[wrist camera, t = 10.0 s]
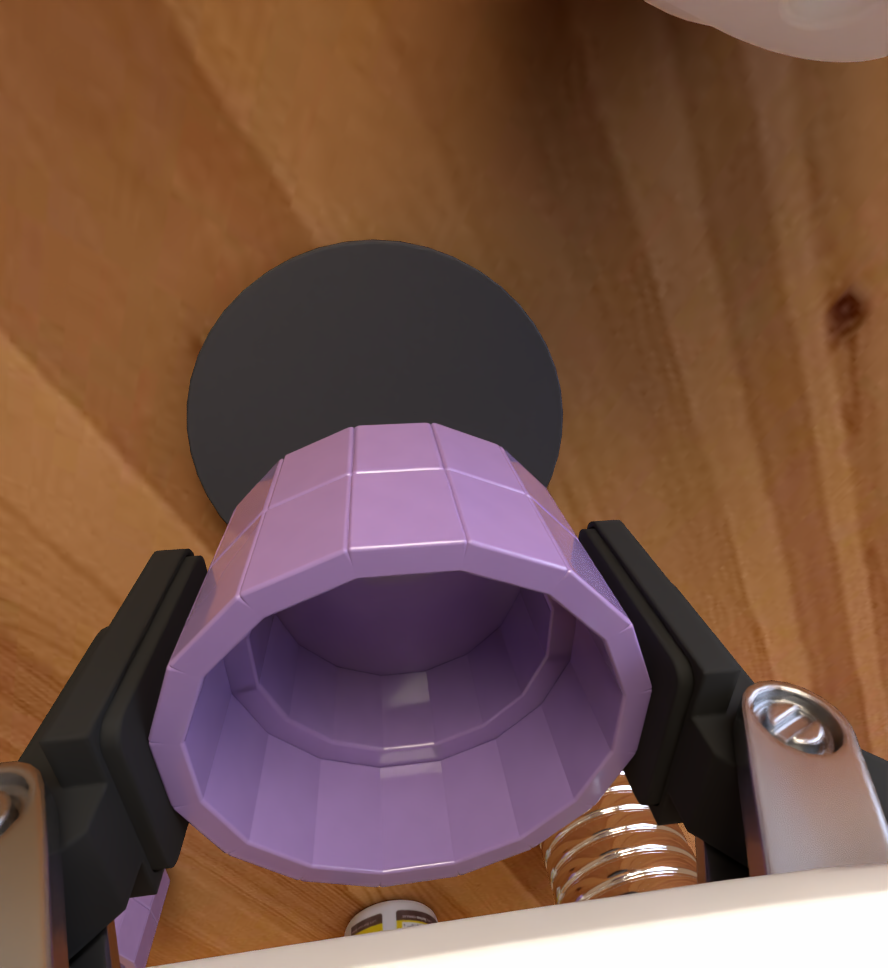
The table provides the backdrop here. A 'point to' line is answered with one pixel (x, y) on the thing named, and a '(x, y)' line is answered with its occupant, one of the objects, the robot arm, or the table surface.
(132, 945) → the dish
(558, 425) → the coaster
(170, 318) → the table surface
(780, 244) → the table surface
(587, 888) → the water bottle
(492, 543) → the dish
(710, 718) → the robot arm
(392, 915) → the supplement bottle
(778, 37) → the piggy bank
